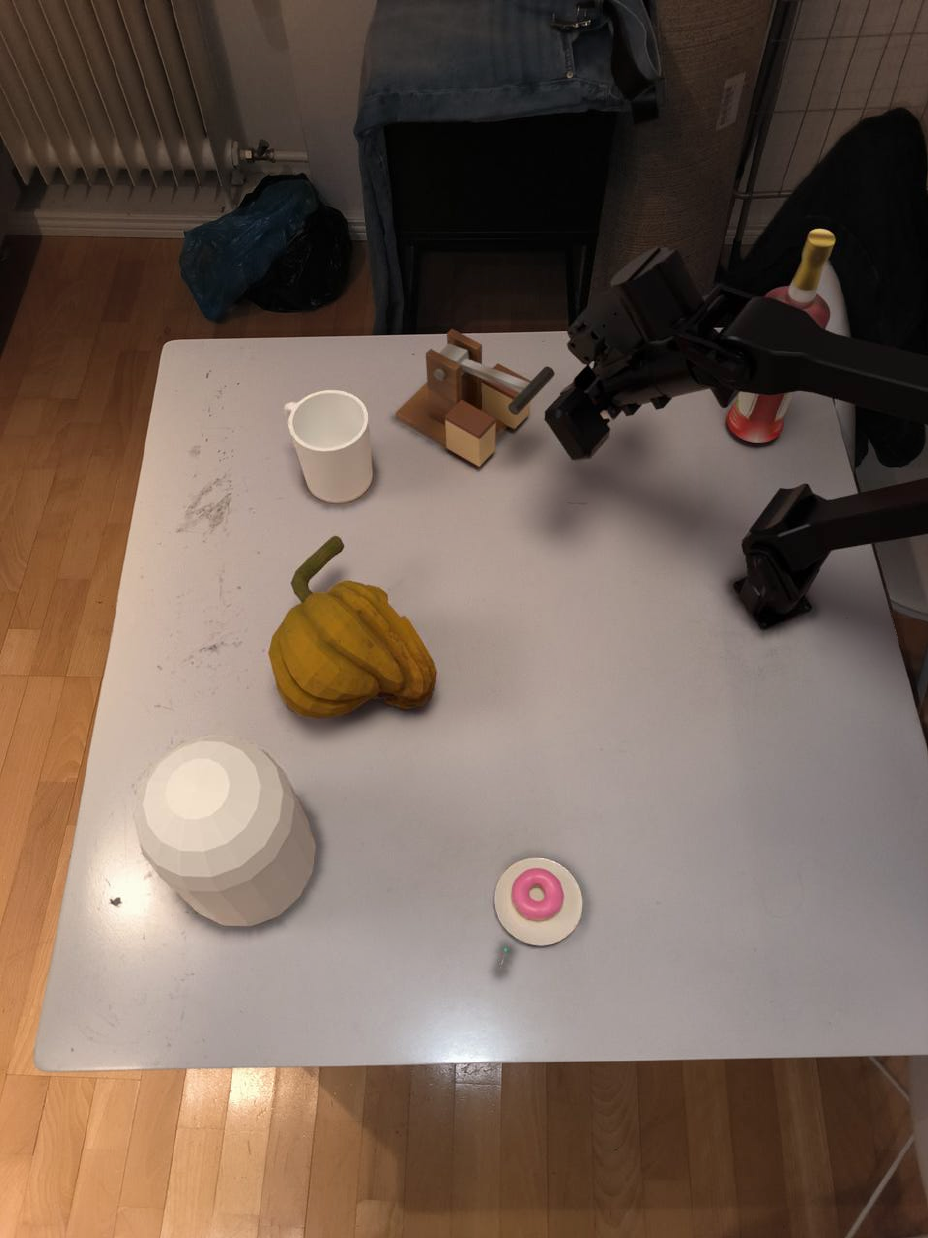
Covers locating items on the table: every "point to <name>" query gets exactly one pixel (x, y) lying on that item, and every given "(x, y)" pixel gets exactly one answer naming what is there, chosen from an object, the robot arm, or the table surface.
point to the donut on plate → (538, 901)
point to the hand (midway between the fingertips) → (563, 395)
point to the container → (225, 830)
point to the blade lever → (501, 377)
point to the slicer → (445, 391)
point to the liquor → (764, 413)
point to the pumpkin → (346, 648)
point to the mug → (332, 444)
